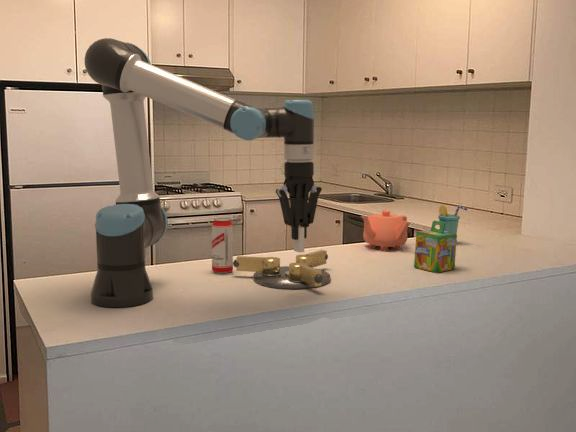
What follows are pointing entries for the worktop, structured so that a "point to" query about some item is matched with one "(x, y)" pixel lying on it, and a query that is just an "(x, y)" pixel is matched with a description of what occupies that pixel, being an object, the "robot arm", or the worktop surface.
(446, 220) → the cup
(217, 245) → the beer can
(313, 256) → the knob
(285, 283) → the levelling base
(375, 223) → the teapot
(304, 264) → the knob
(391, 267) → the worktop surface
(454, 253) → the chalk box
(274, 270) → the knob
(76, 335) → the worktop surface
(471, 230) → the worktop surface
